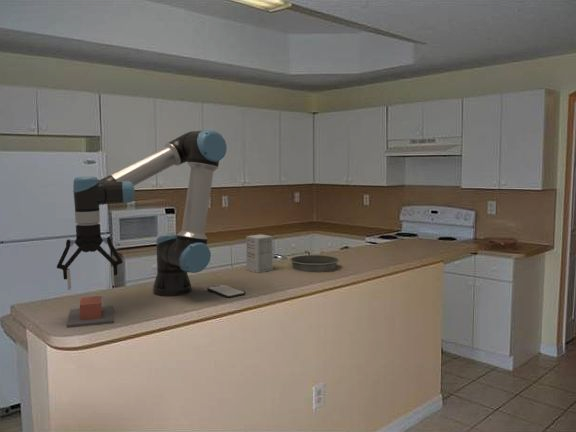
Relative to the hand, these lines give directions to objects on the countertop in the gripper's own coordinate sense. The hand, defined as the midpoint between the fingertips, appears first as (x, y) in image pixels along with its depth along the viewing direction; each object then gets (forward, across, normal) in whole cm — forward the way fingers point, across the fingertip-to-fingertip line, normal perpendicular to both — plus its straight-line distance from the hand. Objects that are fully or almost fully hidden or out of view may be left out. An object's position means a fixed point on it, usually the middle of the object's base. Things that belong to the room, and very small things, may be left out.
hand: (91, 286), depth 169 cm
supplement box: (+12, -74, -54) cm, 93 cm away
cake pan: (+13, -102, -52) cm, 115 cm away
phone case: (+12, -49, -17) cm, 54 cm away
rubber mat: (+10, +1, 0) cm, 10 cm away
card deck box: (+10, +1, 0) cm, 10 cm away
